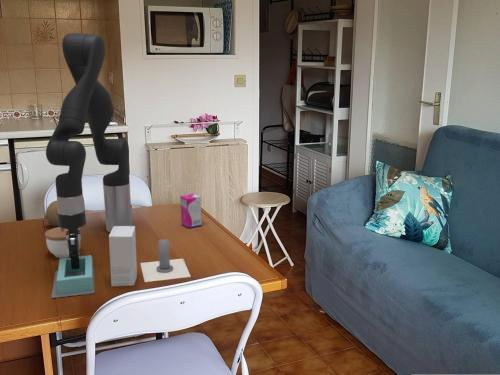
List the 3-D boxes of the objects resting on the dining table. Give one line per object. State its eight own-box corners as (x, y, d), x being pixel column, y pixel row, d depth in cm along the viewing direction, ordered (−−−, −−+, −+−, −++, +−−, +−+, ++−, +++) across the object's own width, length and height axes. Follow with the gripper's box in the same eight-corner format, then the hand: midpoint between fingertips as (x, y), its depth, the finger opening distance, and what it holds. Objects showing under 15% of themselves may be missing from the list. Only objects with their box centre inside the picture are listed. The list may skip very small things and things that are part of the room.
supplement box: (194, 221, 201) (194, 192, 198) (201, 226, 196) (201, 196, 194) (180, 224, 198) (179, 195, 195) (187, 229, 194) (186, 198, 191)
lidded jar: (89, 250, 173) (87, 223, 171) (68, 262, 163) (65, 234, 161) (61, 246, 176) (59, 219, 174) (39, 258, 167) (36, 230, 164)
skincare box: (115, 276, 153) (112, 225, 149) (139, 275, 154) (136, 225, 150) (111, 289, 145) (107, 235, 141) (135, 288, 146) (132, 235, 142)
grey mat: (55, 272, 156) (55, 270, 156) (97, 267, 159) (97, 266, 159) (51, 299, 140) (51, 297, 139) (98, 293, 143) (98, 291, 143)
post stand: (140, 265, 161) (138, 235, 158) (183, 260, 164) (182, 231, 162) (144, 284, 148) (143, 251, 145) (190, 279, 151) (189, 247, 149)
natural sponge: (77, 226, 196) (75, 200, 194) (55, 232, 190) (52, 205, 187) (64, 221, 202) (62, 196, 199) (42, 227, 196) (39, 201, 193)
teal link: (61, 271, 156) (59, 258, 155) (92, 267, 158) (91, 255, 157) (58, 294, 141) (56, 280, 140) (93, 290, 144) (91, 276, 143)
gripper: (58, 203, 157) (63, 256, 161) (55, 218, 143) (61, 275, 148) (85, 201, 159) (89, 254, 163) (84, 216, 145) (89, 272, 150)
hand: (76, 264), depth 155 cm, fingers open, 6 cm apart
